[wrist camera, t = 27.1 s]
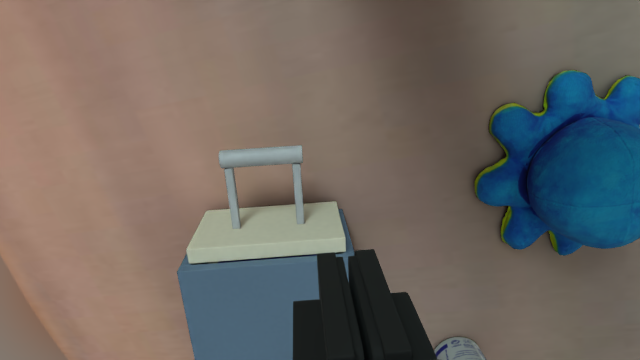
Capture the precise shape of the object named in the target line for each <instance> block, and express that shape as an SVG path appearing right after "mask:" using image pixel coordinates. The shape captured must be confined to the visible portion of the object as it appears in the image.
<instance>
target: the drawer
mask: <svg viewBox="0 0 640 360" xmlns="http://www.w3.org/2000/svg"><path fill="white" fill-rule="evenodd" d="M219 163H220V167H221V168H225V169H224V171H225V178H226V185H227V192H228V199H229V206H230V209H222V210H208V211H206V212H205V214H204V216H203V218H202V220H201V222H200V224H199V226H198V228H197V230H196V232H195V234H194V236H193V238H192V240H191V242H190V243H189V245H188V247H187V249H186V251H187V256H188V262H189V264H194V263H207V262H208V264H212V263H218V262H220V261H233V260H246V259H259V258H272V257H285V256H298V255H311V254H318V253H331V252H335V253H337V252H346V238H345V234H344V230H343V226H342V222H341V218H340V214H339V210H338V207H337V203H336V201H334V202H320V203H306V204H303V194H302V180H301V166H300V163H303V157H302V146H301V145H298V146H283V147H268V148H253V149H237V150H222V151H220V152H219ZM278 164H292V168H293V181H294V193H295V204H292V205H278V206H264V207H250V208H239V205H238V198H237V190H236V183H235V175H234V167H248V166H263V165H278Z"/></svg>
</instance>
